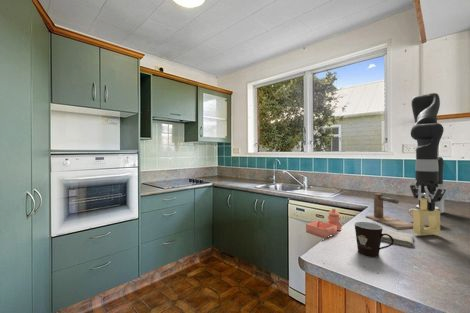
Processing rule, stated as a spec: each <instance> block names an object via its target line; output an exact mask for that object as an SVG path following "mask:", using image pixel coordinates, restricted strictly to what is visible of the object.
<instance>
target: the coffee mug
mask: <svg viewBox="0 0 470 313" xmlns="http://www.w3.org/2000/svg"><path fill="white" fill-rule="evenodd" d="M382 229H384V228H383V225H381V224H378V223H374V222H370V221H369V222H368V221H357V222H354V230H355V239H356V244H357V245H356V246H357V252H358V254H360V255H362V256H364V257H368V258H379V256H380V250H383V249H386V248H390V247H391V246H393V245H394V244H395V243H394V240H393V238H392V236H390V235H389V234H386V233H384V234H382ZM384 235H387V236H389V237H390V238H391V241H392V242H391V243H389V244H388V245H386V246H385V245H384V246H381V243H382V241H381V238H382V236H384Z"/></svg>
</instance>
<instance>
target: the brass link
mask: <svg viewBox="0 0 470 313" xmlns="http://www.w3.org/2000/svg"><path fill="white" fill-rule="evenodd" d="M412 212H413V214H412V216H413V218H412V224H413V228H412V229H413V234H415V235H418V236H429V235H440V234H441V213H440V210H436V209H435V210H434V211H428V198H420V209H419V210H412ZM424 216H429V226H425V225H424Z"/></svg>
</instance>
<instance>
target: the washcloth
mask: <svg viewBox="0 0 470 313" xmlns="http://www.w3.org/2000/svg"><path fill="white" fill-rule="evenodd" d="M384 233H386V234H389V235H390V236H392V238H393V240H394V243H393V244H396V245H399V246H400V245H401V246H405V247H407V248H408V247H409V248H413V247H414V246H415V243H414V241H415V237H414V235H413V234H410V233H406V232H399V231H395V230H391V229H385V228H383V229H382V234H384ZM381 242H386V243H389V244H391V242H392V241H391V238H390V237H389V236H387V235H384V236H382V238H381Z"/></svg>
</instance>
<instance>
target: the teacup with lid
mask: <svg viewBox="0 0 470 313" xmlns="http://www.w3.org/2000/svg"><path fill="white" fill-rule="evenodd" d="M419 209H420V207H419V204H417V205H415V208H410V209H409V210H408V216H409V217H411V218H412V219H413V215H411V211H412V212H413V210H419ZM435 209H436V210H440V209H439V208H438V207H435ZM424 226H425V227H429V216H424Z"/></svg>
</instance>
